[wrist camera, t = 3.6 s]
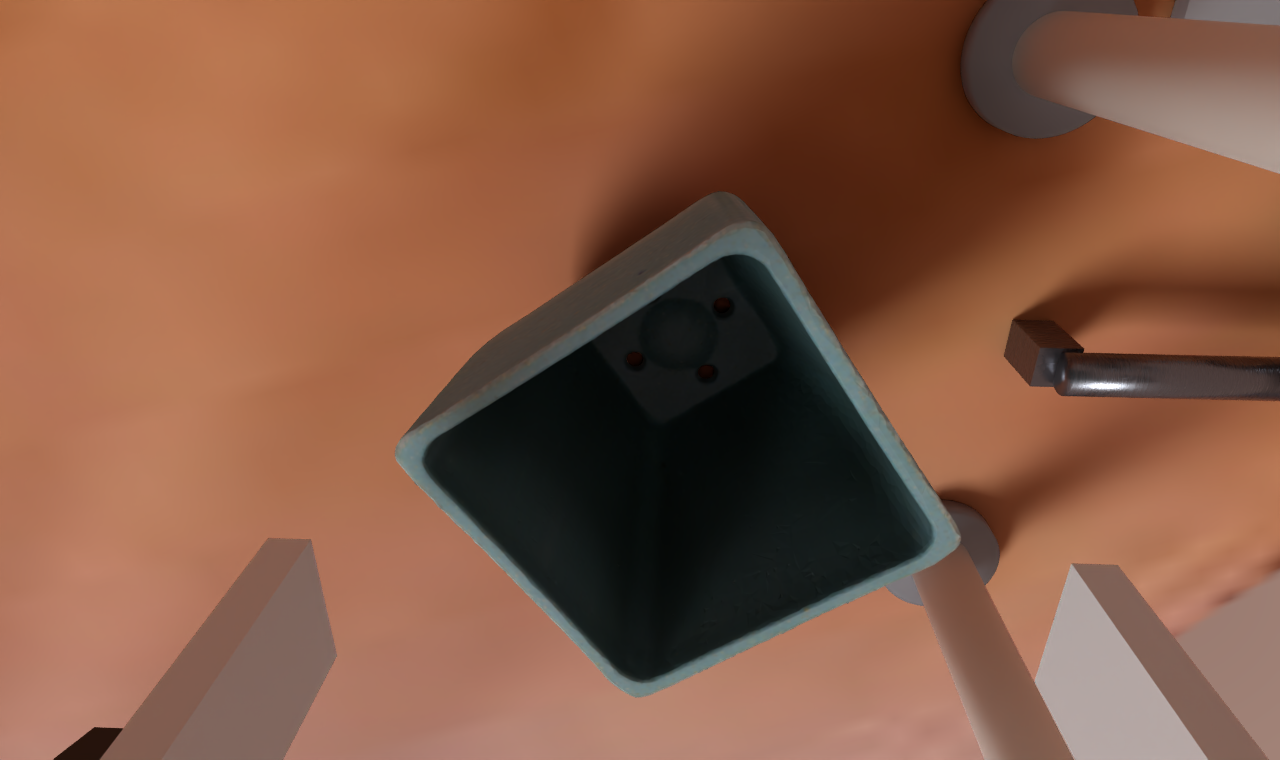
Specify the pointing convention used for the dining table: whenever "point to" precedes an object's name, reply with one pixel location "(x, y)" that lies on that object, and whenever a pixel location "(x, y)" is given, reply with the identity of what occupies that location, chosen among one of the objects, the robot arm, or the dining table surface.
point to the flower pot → (678, 456)
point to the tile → (1229, 11)
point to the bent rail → (1135, 369)
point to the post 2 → (1126, 74)
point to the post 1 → (982, 647)
